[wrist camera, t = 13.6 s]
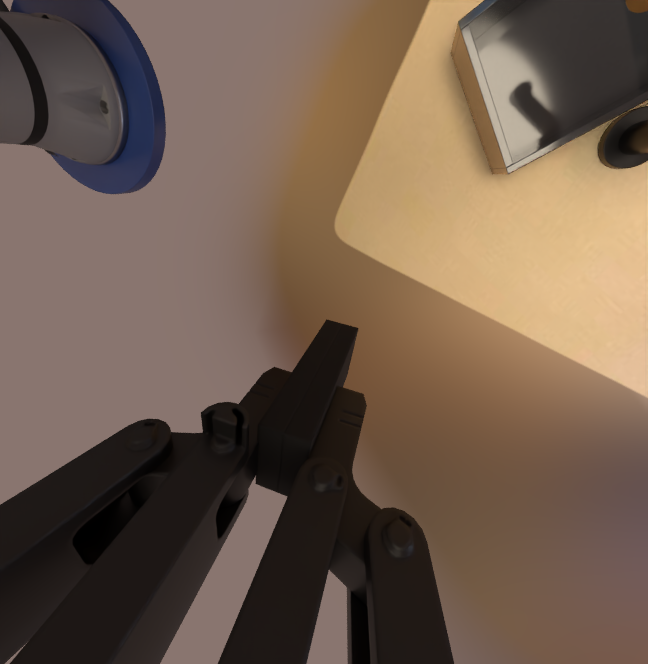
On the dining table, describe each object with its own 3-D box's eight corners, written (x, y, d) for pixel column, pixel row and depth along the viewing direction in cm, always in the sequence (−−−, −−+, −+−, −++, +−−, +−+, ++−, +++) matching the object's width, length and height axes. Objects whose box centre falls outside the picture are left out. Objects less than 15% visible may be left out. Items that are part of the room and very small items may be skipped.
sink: (450, 53, 28) (457, 21, 22) (663, -113, 21) (754, -221, 15) (492, 174, 31) (508, 174, 26) (687, 67, 24) (769, 35, 19)
